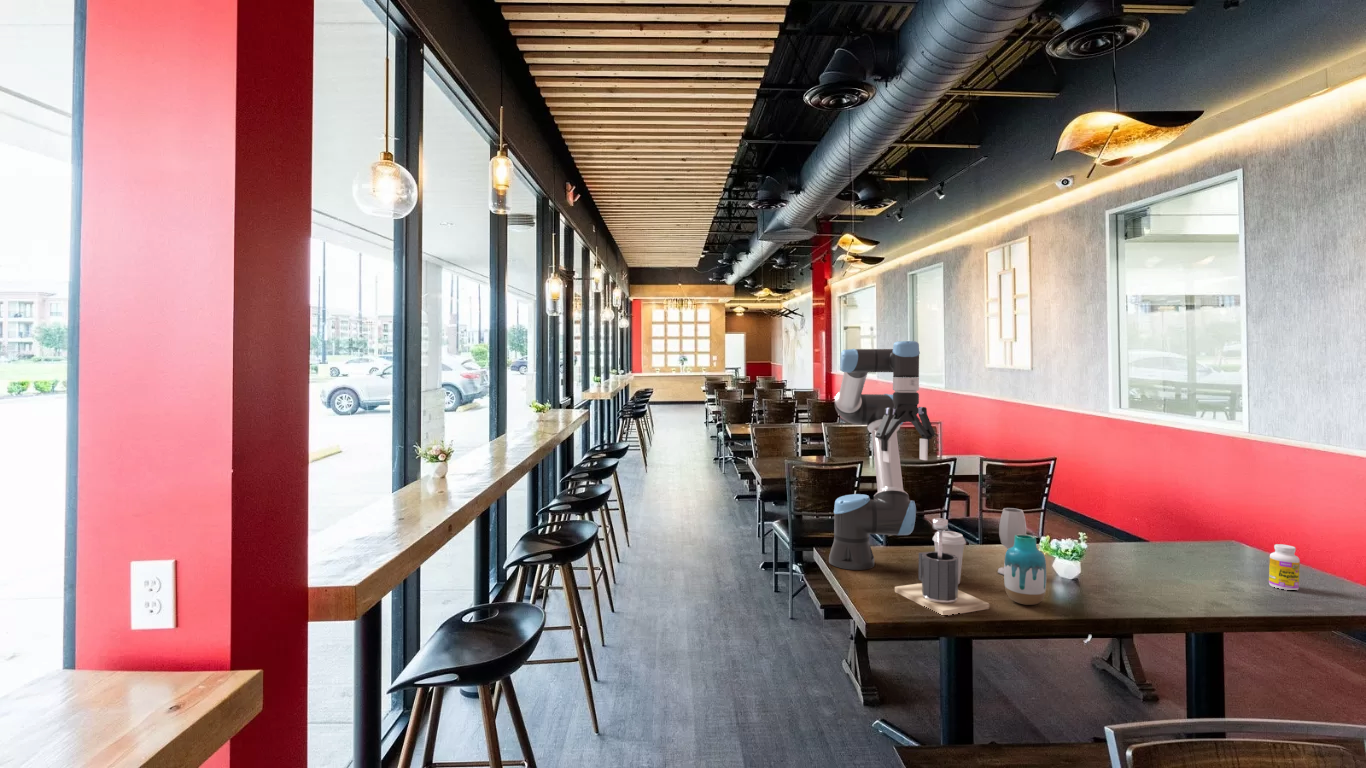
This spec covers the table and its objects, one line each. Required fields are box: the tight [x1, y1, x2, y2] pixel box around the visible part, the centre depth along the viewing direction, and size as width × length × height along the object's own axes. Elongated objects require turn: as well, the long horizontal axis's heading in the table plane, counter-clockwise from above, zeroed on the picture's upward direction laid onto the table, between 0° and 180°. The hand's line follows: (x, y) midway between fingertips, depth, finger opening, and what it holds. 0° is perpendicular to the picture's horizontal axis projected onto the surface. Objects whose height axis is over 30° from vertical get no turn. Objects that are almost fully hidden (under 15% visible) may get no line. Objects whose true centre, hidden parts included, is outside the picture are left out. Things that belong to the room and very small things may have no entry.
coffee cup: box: [932, 530, 966, 585], centre depth 198 cm, size 10×10×15 cm
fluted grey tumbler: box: [918, 550, 959, 604], centre depth 181 cm, size 12×9×12 cm
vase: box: [1003, 533, 1047, 606], centre depth 179 cm, size 11×11×19 cm
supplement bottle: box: [1268, 543, 1300, 591], centre depth 192 cm, size 7×7×13 cm
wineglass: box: [997, 507, 1027, 576], centre depth 205 cm, size 9×9×21 cm
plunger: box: [932, 517, 949, 560], centre depth 179 cm, size 6×6×21 cm
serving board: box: [894, 582, 990, 616], centre depth 182 cm, size 20×16×2 cm
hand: (905, 461), depth 193 cm, fingers open, 13 cm apart
